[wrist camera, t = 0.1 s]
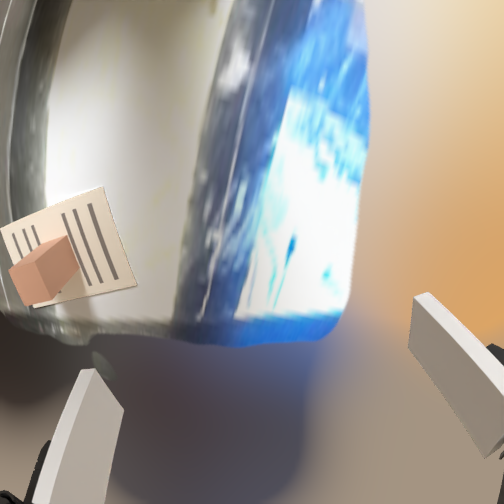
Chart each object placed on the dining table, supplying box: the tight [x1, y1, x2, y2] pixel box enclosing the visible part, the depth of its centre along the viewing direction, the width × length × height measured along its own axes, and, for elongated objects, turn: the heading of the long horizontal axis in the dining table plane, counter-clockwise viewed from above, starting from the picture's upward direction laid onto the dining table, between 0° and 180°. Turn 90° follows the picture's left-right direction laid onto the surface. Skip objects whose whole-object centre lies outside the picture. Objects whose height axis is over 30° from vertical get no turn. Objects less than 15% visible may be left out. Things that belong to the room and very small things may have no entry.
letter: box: [0, 187, 137, 308], centre depth 37 cm, size 14×20×1 cm
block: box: [8, 235, 80, 306], centre depth 32 cm, size 5×5×9 cm
